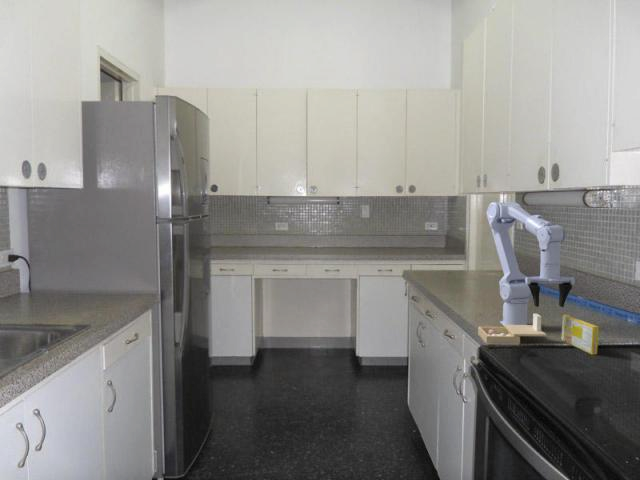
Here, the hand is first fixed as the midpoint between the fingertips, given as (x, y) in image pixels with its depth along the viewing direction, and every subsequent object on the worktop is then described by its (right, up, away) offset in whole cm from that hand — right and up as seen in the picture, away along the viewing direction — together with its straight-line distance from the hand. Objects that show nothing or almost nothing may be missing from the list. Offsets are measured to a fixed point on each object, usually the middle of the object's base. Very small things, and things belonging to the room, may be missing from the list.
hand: (548, 306), depth 174 cm
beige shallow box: (-16, -11, 0) cm, 19 cm away
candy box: (+5, -12, -8) cm, 15 cm away
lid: (-8, -8, -1) cm, 11 cm away
